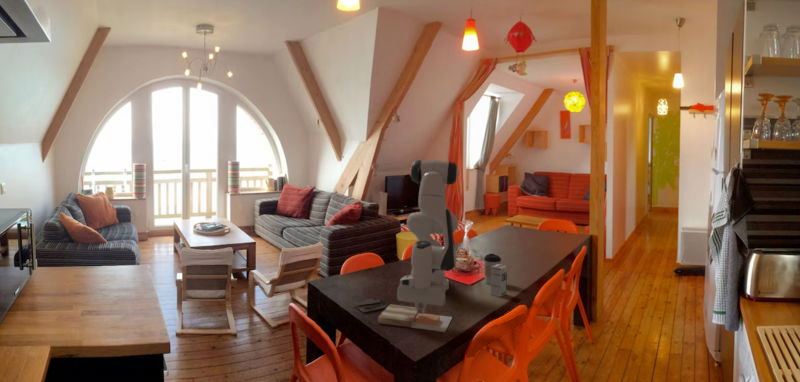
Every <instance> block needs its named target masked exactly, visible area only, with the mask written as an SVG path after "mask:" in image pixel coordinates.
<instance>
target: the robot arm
mask: <svg viewBox="0 0 800 382" xmlns="http://www.w3.org/2000/svg"><path fill="white" fill-rule="evenodd" d="M409 175H410V179H411V181H413V182H414V183H416V184H417V185H419V184H420V185H419V191H418V198H417V199H418V201H417V202H418V209H419V211H416V212H412V213H410V214H409V215H408V216H407V218H406V219H407V220H406V226H407V228H408V231H410V232H411V234H413V235H414V236H415V238H416V239H417V241H415V242H414V243H413V245H412V249H411V250H412V252H411V254H410V255H411V256H410V257H411V258H410V259H411V260H410V262H411V263H410V264H411V272H410V274H407V275H404V276H402V277H401V278H400V280H399V286H397V291H396V299H397V300H398V301H399V302H407V303H414V307H416V309H417V313H421V314H424V313H425V310H426V307H427V306H428V305H432V306H440V307H443V306H444V305H445V304H446V293H447V290H450V287H449V286H450V281H449V279H448V278H446V272H450V271H451V270H453V269H455V267H456V265H457V261H458V260H457V252H456V248H455V237H454V233H455V232H456V231H457V230H458V227H459V220H458V217H457V216H456V214H455V213H453V212H452V211H451V210H450V209H449V208H448V206H447V202H446V185H448V186H449V185H453V184H456V181H457V180H458V177H459V168H458V165H457V164H456V162H452V161H445V160H444V161H443V160H430V159H429V160H421V159H418V160H414V161H413V162H412V163H411V166H410V169H409ZM432 234H433V235H434V234H435V235H443V242H444V245H442V244H441V242H439V241H437V240H436V239H434V238H432V237H431V235H432ZM419 304H422V306H423V307H420V306H419Z"/></svg>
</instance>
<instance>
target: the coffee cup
mask: <svg viewBox="0 0 800 382" xmlns="http://www.w3.org/2000/svg"><path fill="white" fill-rule="evenodd" d="M483 261H484V264H483V269H484V270H483V271H484V272H483V273H484V283H485V284H486V285H490V286H491V267H492V266H494V265H497V264H500V265H501V262H502V258H501V257H500V256H499V255H497V254H495V253H488V254H487V255H485V256H484V258H483Z"/></svg>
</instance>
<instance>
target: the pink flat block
mask: <svg viewBox="0 0 800 382" xmlns="http://www.w3.org/2000/svg"><path fill="white" fill-rule="evenodd" d="M440 316H441V315H440ZM440 316H439V314H432V313H425V314H421V313H418V315H417V316H416V318H415V323H422V324H429V325H437V324H438V322H439V320H440Z"/></svg>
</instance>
